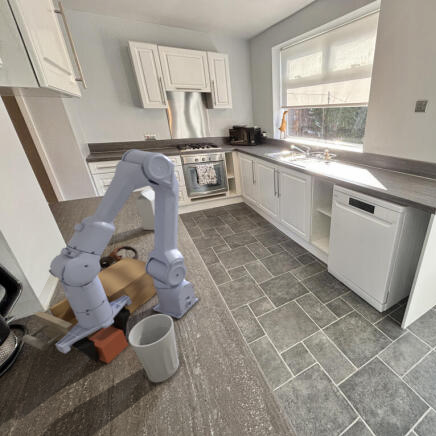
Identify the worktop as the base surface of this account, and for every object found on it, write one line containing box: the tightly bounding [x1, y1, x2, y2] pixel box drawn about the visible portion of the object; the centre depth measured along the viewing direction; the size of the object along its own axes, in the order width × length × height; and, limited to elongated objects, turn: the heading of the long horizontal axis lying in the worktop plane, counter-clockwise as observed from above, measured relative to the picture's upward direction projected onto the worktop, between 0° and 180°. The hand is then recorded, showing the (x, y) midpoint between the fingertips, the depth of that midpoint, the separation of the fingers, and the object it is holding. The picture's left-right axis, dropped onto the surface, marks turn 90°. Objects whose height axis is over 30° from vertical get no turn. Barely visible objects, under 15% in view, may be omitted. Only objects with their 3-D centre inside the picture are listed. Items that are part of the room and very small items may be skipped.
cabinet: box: [97, 256, 157, 315], centre depth 71 cm, size 15×13×9 cm
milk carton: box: [135, 186, 155, 231], centre depth 112 cm, size 7×7×19 cm
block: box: [89, 325, 129, 364], centre depth 56 cm, size 5×5×5 cm
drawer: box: [20, 297, 110, 351], centre depth 60 cm, size 18×11×7 cm, turn 161°
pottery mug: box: [99, 245, 139, 269], centre depth 86 cm, size 12×10×8 cm
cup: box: [128, 313, 180, 383], centre depth 51 cm, size 8×8×12 cm
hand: (109, 346), depth 56 cm, fingers open, 6 cm apart
